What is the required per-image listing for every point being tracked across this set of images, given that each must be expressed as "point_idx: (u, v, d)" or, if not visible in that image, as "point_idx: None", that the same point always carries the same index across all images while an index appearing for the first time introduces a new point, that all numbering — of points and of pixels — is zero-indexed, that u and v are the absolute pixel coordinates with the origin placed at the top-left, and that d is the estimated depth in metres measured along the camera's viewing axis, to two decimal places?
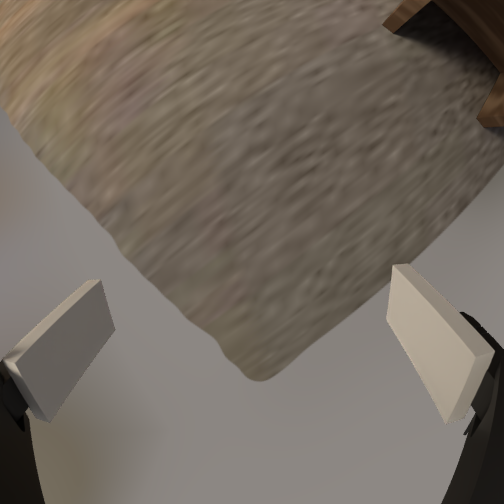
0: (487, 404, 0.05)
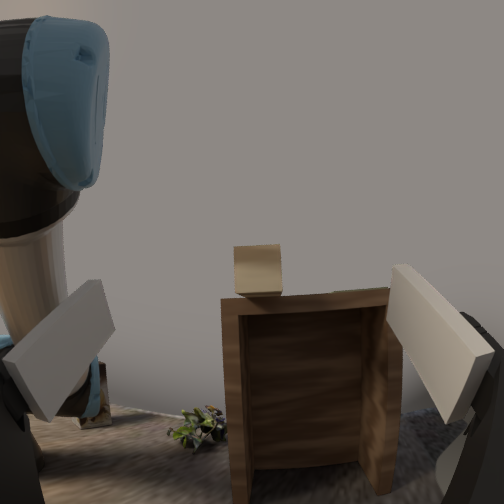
0: (487, 404, 0.05)
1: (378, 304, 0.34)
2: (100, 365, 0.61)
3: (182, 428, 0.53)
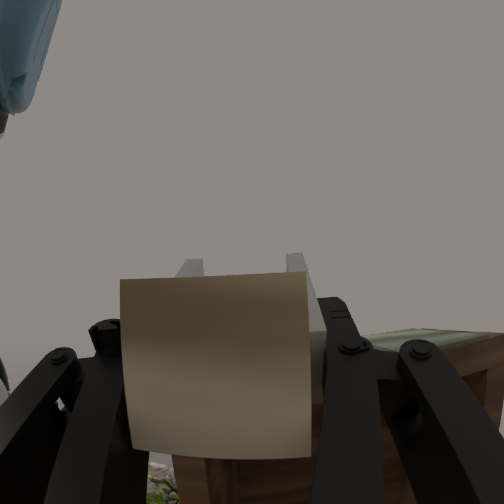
0: None
1: (476, 370, 0.14)
2: None
3: (151, 496, 0.32)
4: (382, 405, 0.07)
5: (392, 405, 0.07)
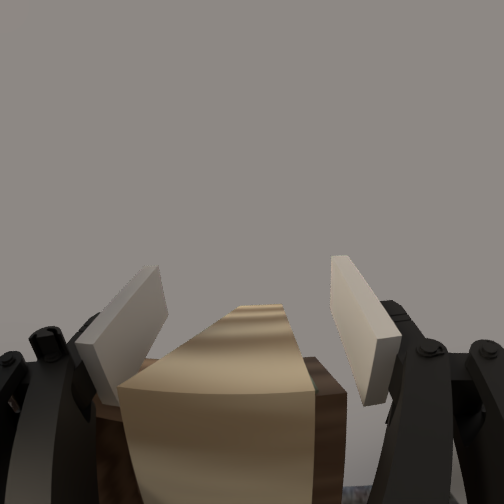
0: None
1: None
2: None
3: None
4: (452, 406, 0.06)
5: (461, 405, 0.06)
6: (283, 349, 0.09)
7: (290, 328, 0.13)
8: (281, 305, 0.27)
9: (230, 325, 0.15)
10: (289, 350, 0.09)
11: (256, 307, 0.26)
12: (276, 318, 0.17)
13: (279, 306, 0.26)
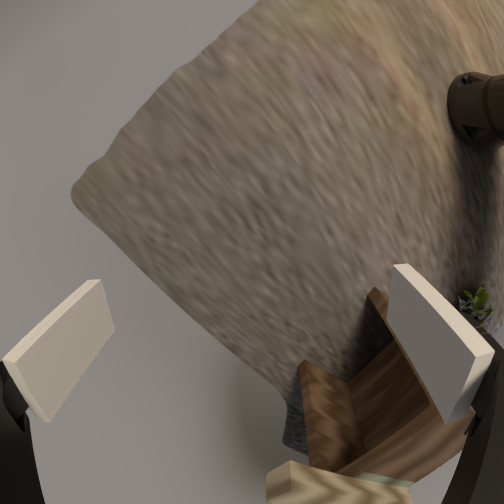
0: (487, 404, 0.05)
1: None
2: None
3: (483, 300, 0.48)
4: None
5: None
6: None
7: None
8: None
9: None
10: None
11: None
12: None
13: None
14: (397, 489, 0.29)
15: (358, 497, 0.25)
